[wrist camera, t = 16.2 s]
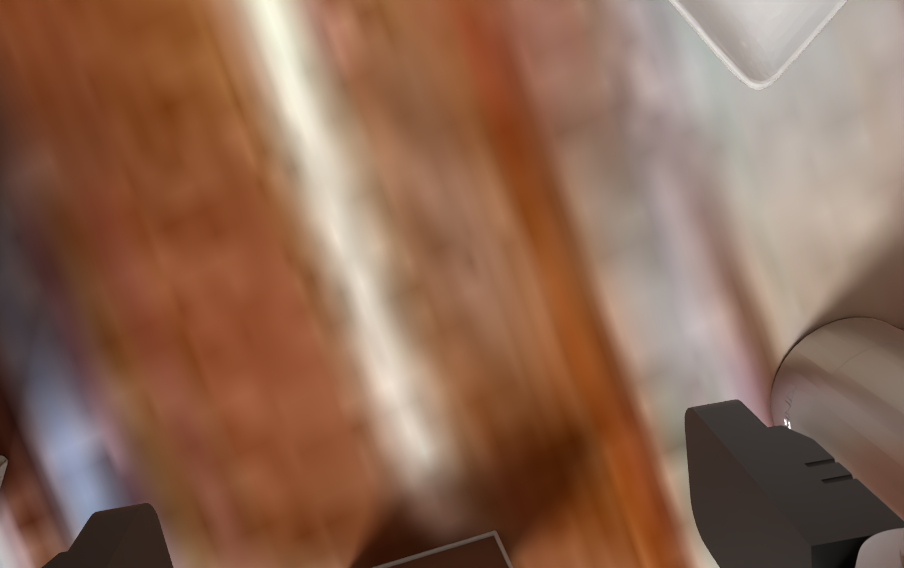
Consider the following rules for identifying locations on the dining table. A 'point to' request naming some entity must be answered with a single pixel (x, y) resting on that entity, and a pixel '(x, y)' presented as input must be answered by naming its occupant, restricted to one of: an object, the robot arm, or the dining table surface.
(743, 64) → the salad plate
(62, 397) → the dining table surface
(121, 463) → the dining table surface
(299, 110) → the dining table surface
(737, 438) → the robot arm
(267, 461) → the dining table surface
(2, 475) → the coffee box
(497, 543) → the food container
